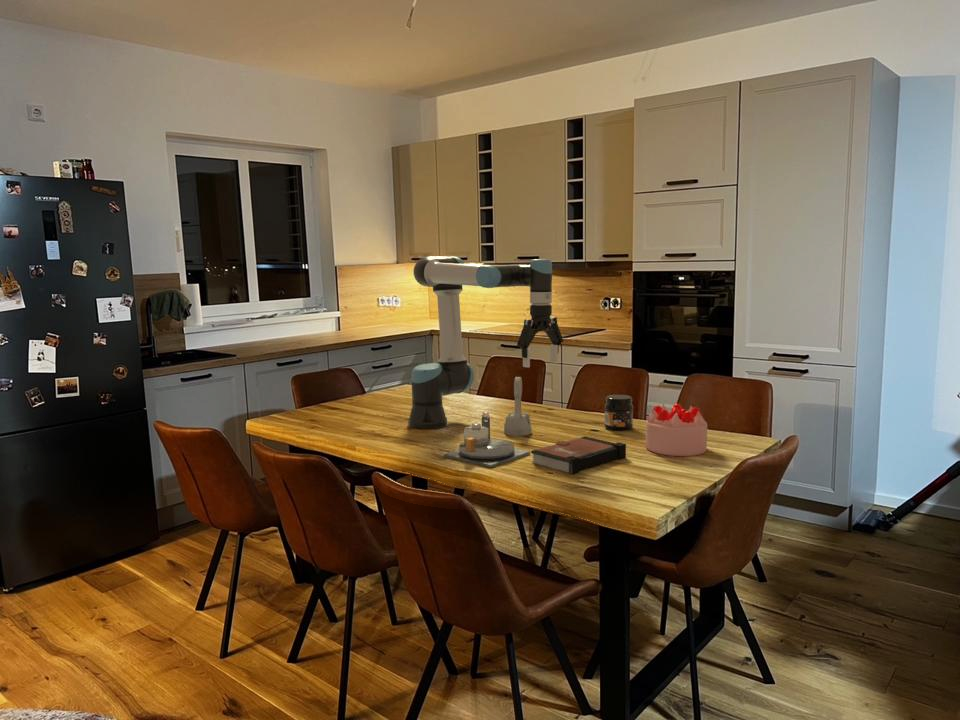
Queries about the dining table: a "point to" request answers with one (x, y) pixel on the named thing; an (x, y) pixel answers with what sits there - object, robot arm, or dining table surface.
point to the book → (578, 454)
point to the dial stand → (486, 422)
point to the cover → (477, 434)
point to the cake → (676, 431)
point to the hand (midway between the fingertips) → (540, 365)
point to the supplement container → (618, 413)
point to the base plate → (487, 462)
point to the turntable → (486, 449)
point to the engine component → (517, 415)
